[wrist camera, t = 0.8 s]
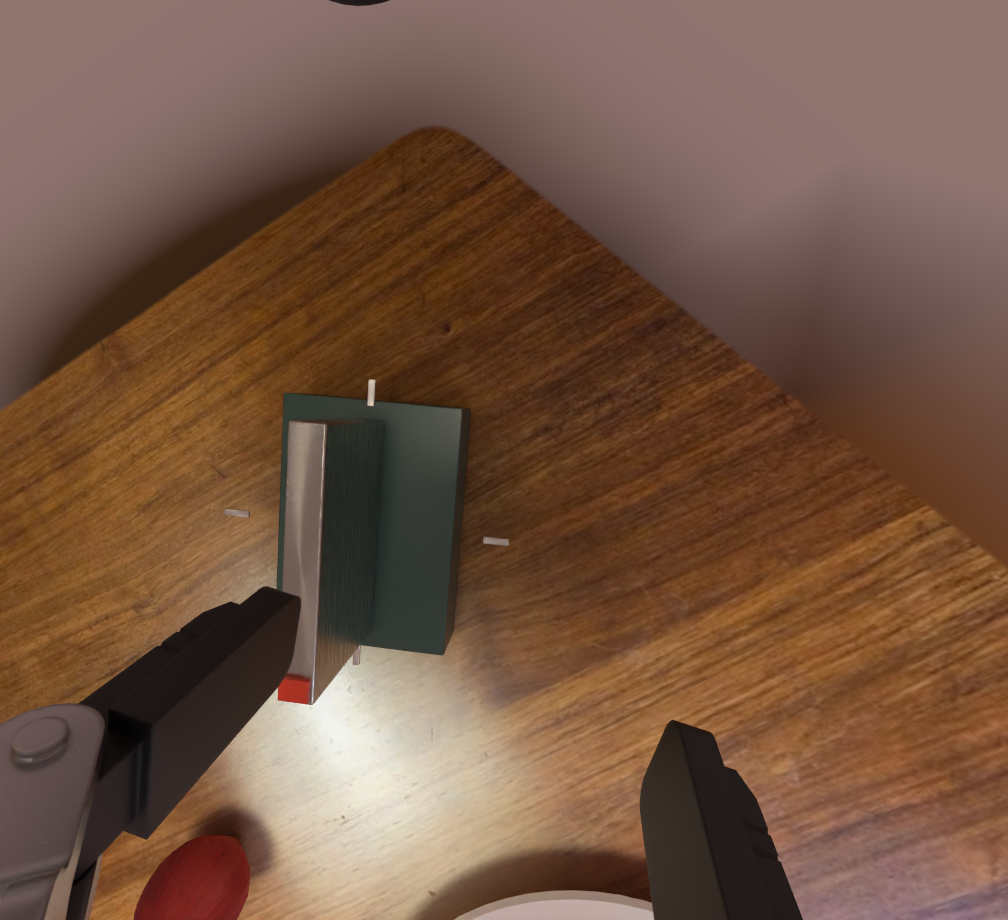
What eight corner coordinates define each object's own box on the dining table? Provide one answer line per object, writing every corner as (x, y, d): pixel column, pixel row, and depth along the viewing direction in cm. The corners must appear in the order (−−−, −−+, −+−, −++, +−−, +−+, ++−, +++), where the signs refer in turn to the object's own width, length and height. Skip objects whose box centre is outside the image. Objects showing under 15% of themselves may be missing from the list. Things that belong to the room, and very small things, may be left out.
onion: (233, 894, 33) (136, 1045, 25) (178, 833, 33) (63, 965, 25) (291, 850, 33) (210, 991, 25) (235, 787, 33) (136, 909, 25)
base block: (261, 371, 29) (228, 367, 26) (524, 394, 28) (522, 392, 25) (253, 623, 31) (221, 647, 28) (500, 654, 30) (495, 683, 27)
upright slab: (356, 417, 26) (284, 420, 19) (384, 420, 26) (323, 423, 19) (344, 627, 27) (274, 704, 20) (371, 630, 27) (310, 709, 20)
